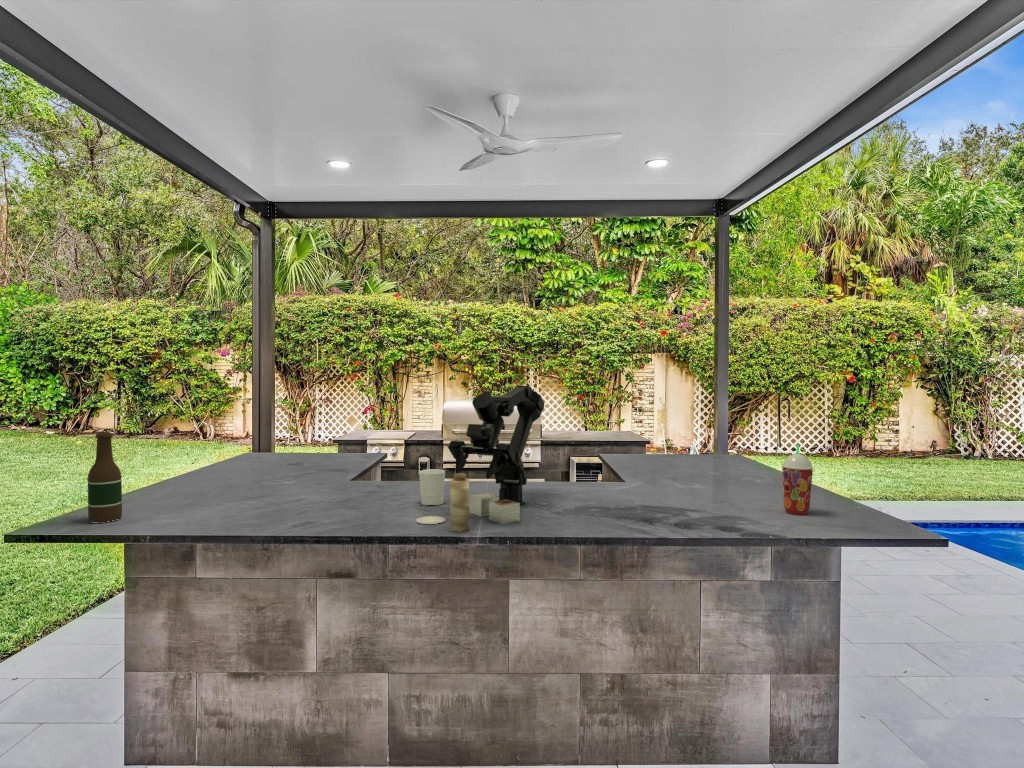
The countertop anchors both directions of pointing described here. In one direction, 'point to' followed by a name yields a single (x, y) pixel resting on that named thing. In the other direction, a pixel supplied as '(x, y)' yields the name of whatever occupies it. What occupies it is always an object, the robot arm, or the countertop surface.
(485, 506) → the spice tin
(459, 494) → the pepper mill
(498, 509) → the spice tin
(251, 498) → the countertop surface
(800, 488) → the smoothie
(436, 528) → the countertop surface
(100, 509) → the beer bottle
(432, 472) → the white cup
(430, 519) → the coaster
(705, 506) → the countertop surface
